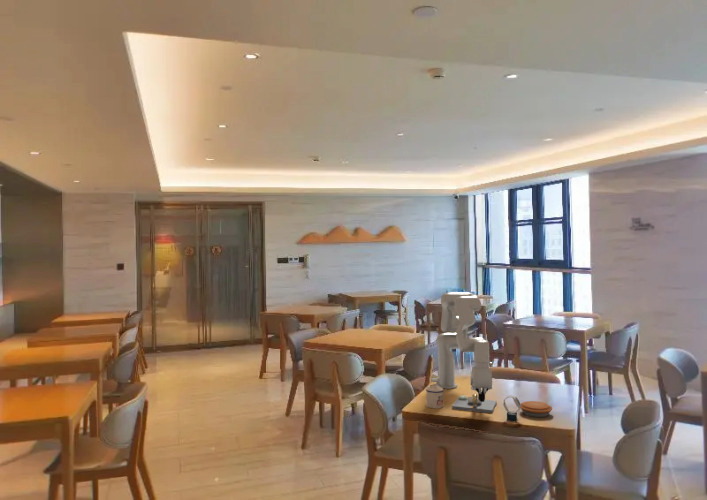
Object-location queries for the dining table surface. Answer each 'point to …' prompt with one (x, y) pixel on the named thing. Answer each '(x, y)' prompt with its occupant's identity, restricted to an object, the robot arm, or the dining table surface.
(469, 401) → the footscrew knob
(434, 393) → the teacup with lid
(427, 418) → the dining table surface
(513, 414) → the watch
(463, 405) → the base plate
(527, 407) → the pie
